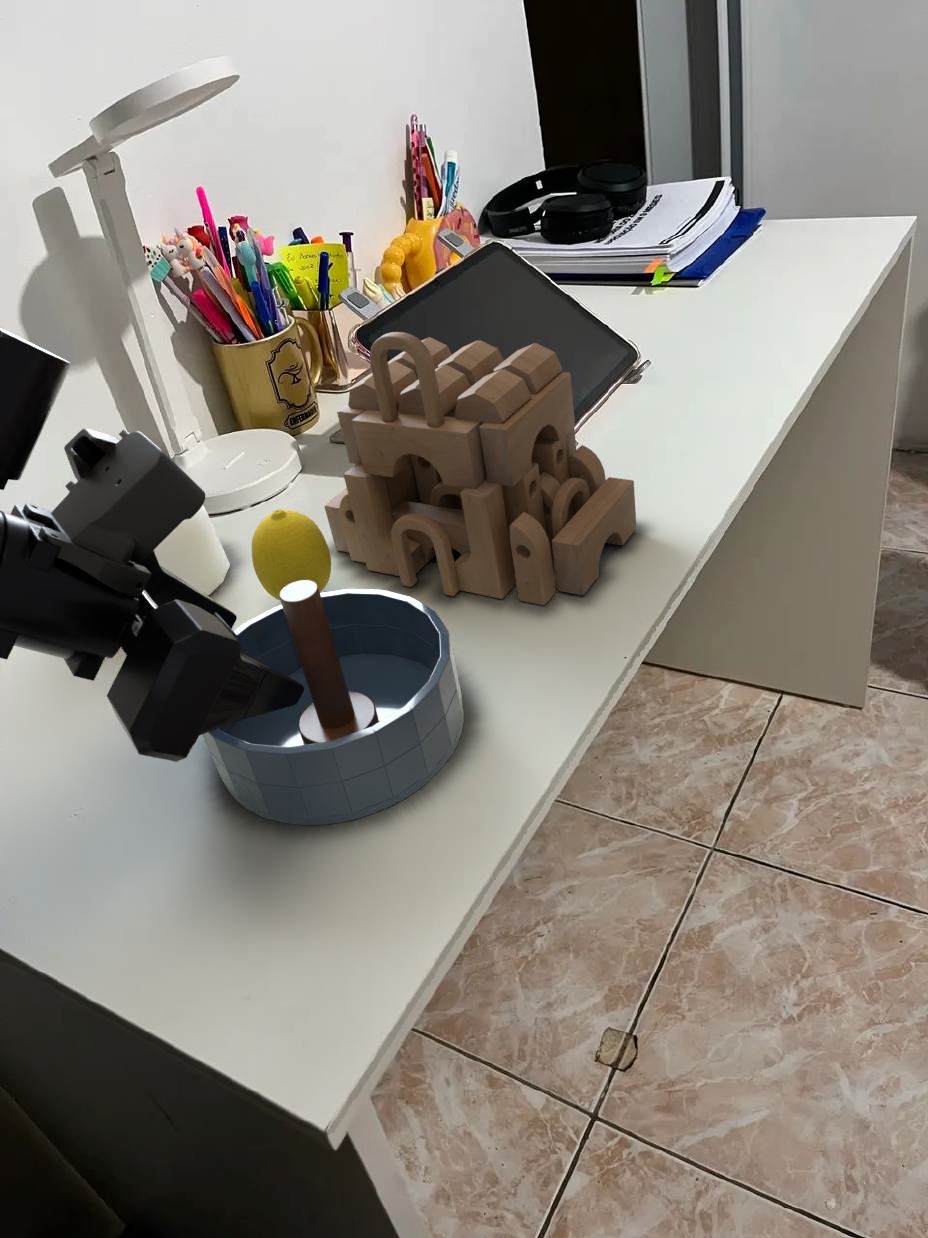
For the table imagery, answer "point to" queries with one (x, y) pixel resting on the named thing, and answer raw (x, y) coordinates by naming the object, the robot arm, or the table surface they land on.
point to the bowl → (365, 760)
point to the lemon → (289, 552)
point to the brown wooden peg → (322, 669)
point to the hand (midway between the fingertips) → (264, 656)
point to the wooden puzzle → (474, 472)
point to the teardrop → (194, 553)
